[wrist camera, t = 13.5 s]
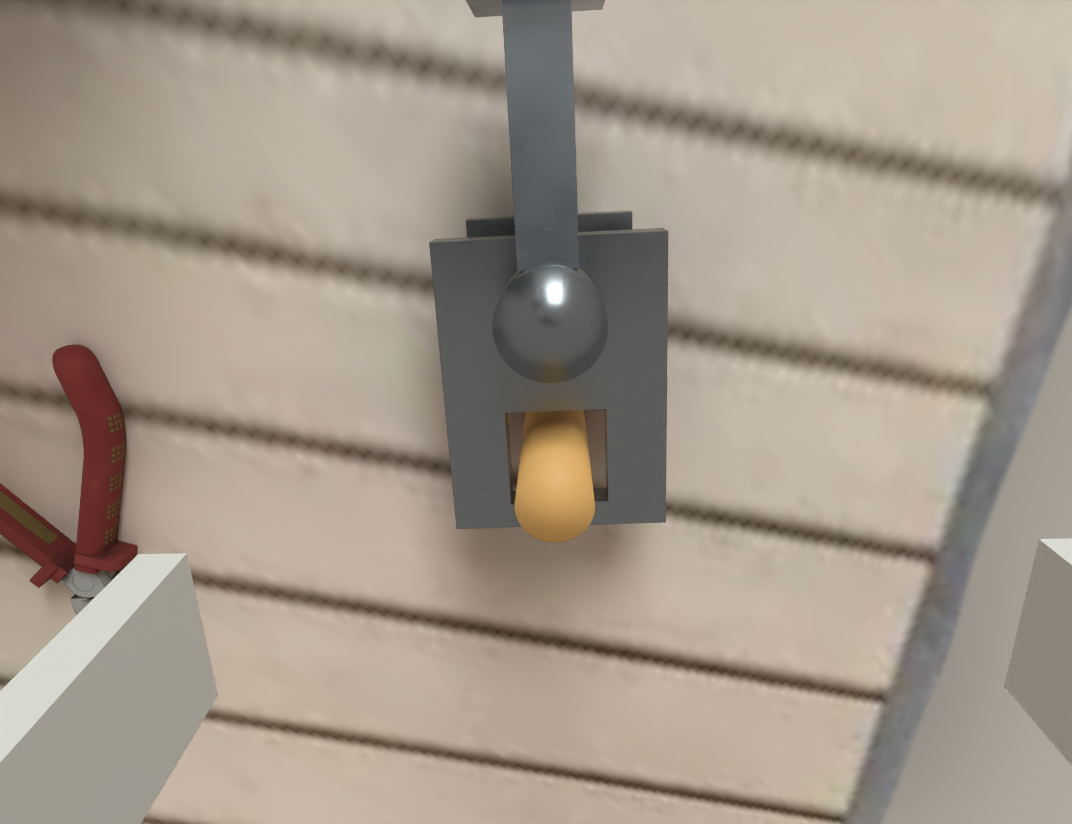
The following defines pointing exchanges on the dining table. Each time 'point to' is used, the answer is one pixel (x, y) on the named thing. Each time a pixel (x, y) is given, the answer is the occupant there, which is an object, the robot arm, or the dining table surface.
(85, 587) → the pliers
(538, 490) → the orange rounded rod
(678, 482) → the dining table surface
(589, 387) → the grey toggle clamp
